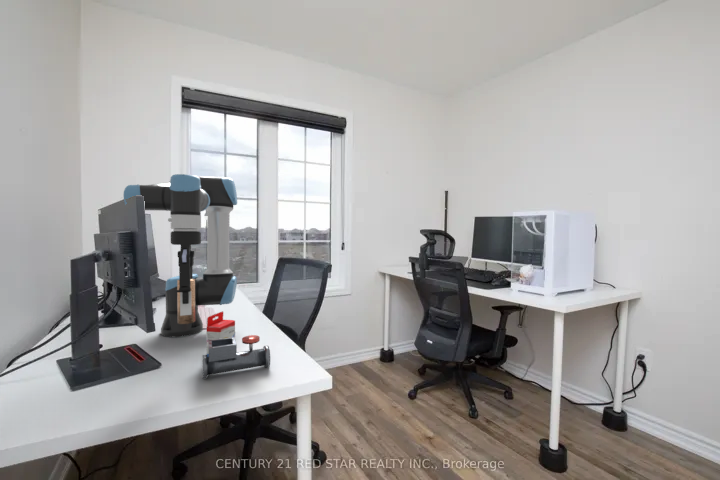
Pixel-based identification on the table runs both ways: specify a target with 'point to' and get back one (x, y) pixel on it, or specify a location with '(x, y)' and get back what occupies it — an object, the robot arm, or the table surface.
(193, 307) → the pipe stub
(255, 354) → the valve body
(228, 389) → the table surface
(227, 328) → the ink box
